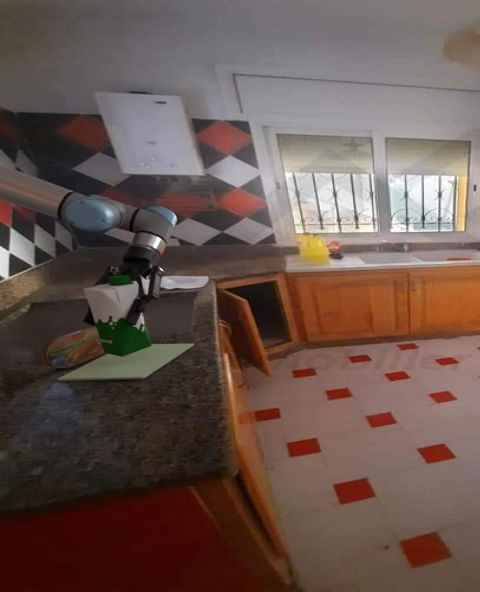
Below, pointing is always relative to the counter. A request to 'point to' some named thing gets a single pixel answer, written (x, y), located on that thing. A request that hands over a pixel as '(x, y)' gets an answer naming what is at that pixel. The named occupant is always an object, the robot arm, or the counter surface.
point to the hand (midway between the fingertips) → (109, 323)
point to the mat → (128, 364)
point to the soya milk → (117, 316)
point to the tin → (72, 349)
